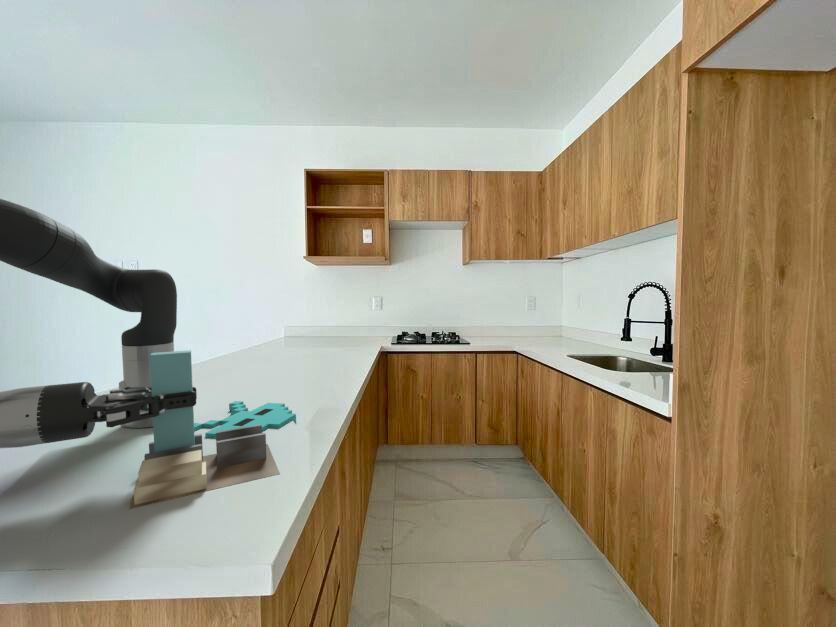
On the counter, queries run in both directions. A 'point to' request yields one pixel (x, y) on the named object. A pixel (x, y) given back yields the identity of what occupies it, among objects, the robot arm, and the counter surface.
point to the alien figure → (250, 417)
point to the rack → (227, 459)
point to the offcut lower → (170, 487)
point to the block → (166, 378)
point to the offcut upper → (170, 468)
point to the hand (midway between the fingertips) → (195, 395)
